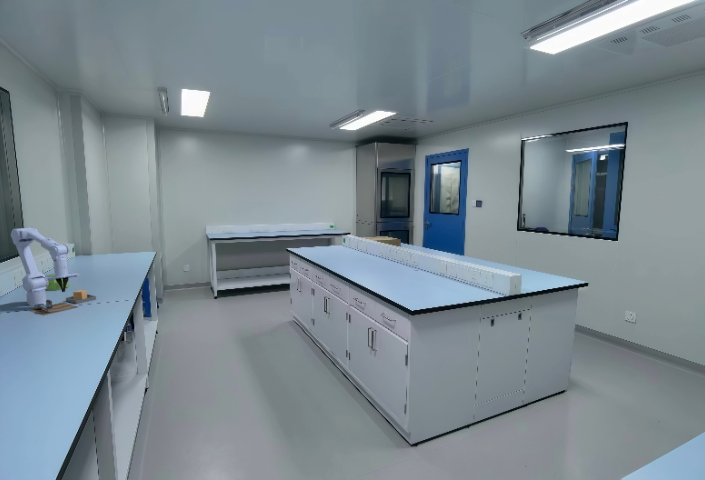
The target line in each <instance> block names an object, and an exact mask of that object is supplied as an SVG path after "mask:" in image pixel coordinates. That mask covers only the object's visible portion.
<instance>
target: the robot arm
mask: <svg viewBox="0 0 705 480" xmlns="http://www.w3.org/2000/svg"><path fill="white" fill-rule="evenodd" d="M10 236H11V239H12V243H13V245H15V247H16V250H17V252H18V255H19V258H20V262H21V263H22V267H23V269H24V271H25V274H26V275H25V276H24V277H22V288H23V289H24V291H25V292H27V293H26V295H25V296H26V302H27V305H29V306H31V307H34V305H36V304H44V305H46V300H47V295H46V290H47V289H46V287H47V286H48V280H55V279H56V281H57V283H58V284H59V286H60V287H61V289H60V290H61V293H65V292H66V290H67V289H66V285H67V282H69V280H70V279H69V278H78V277H80V274H79V272H75V273H74V272H73V273H69V269H68V268H69V267H68V258H67V255H68V254H69V247H68V246H67V244H64V243H63V244H62V243H59V242H57V241H55V240H54V239H53V238H51V237H45V236H44V235H43V234H41V233H40V232H39V229H37V228H36V227H34V226H30V227H22V228H13V229H12V230H11V232H10ZM34 241H35V242H37V243H39V244H40V246H41V248H43V249H45V250H47V251H48V252H49V255H50V256H51V259H52V260H53V261H52V263H53V270H54V274H55V275H53V276H47V275H45V274H44V273H43V272H41V271H39V269H38V266H37V264H36V261H35V258H34V255H33V253H32V250H31V247H30V244H32V243H33V242H34ZM45 276H47V277H45ZM62 280H63V285H62Z"/></svg>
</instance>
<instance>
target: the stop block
mask: <svg viewBox="0 0 705 480" xmlns="http://www.w3.org/2000/svg"><path fill="white" fill-rule="evenodd" d="M87 294H88V293H87V289H80V290H79V289H78V290H76V291H73V293H72V296H74V300H80V299H85V298H87Z"/></svg>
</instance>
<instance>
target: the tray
mask: <svg viewBox="0 0 705 480" xmlns="http://www.w3.org/2000/svg"><path fill="white" fill-rule="evenodd" d="M96 300H97V296H96V295H93V294H88V293H87V298H85V299H80V300H74V296H73V295H72V296H68V297H65V301H66V302H68V303H70V304H71V303H72V304H75V305H79V304H84V303H87V302H92V301H96Z"/></svg>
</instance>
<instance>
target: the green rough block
mask: <svg viewBox="0 0 705 480" xmlns="http://www.w3.org/2000/svg"><path fill="white" fill-rule="evenodd" d="M53 275H55V273H51V274H48V275H45V277H47V276H53ZM69 284H70V283H69V281H68V282H67V285H66V288H69V287H70V285H69ZM62 285H63V280H62ZM45 290H49V291H58V290H61V287H60V286H59V284H58V283H57V281H56V279H55V280H48V286H47V287H46V289H45Z"/></svg>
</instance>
